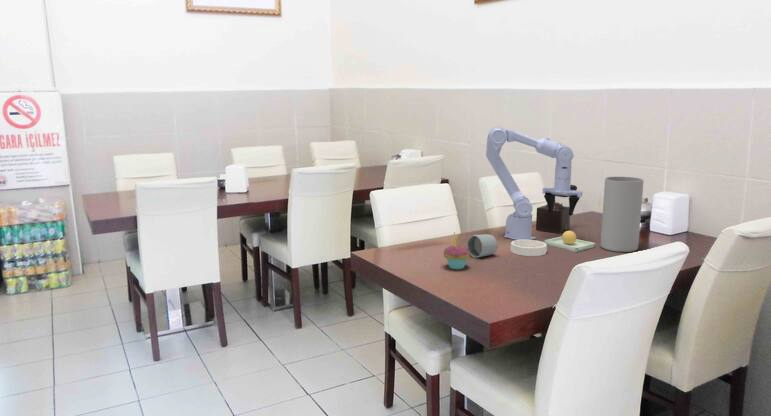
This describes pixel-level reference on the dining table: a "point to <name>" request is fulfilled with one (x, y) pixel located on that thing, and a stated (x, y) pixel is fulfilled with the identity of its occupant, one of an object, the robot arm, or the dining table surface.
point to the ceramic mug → (482, 245)
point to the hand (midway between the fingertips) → (560, 214)
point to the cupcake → (456, 255)
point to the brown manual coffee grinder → (554, 217)
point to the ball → (569, 237)
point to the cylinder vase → (621, 213)
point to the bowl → (528, 247)
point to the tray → (576, 246)
